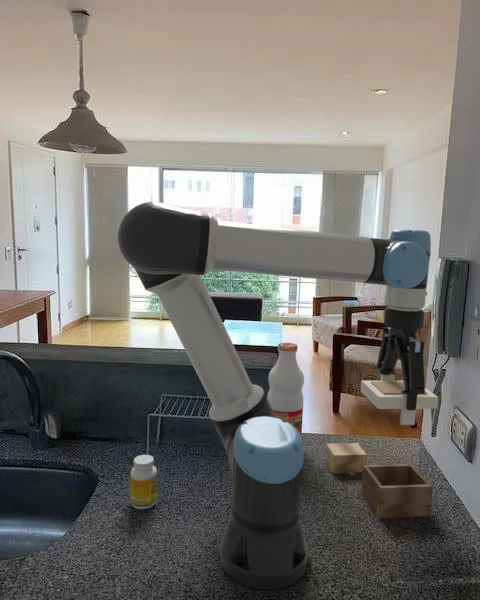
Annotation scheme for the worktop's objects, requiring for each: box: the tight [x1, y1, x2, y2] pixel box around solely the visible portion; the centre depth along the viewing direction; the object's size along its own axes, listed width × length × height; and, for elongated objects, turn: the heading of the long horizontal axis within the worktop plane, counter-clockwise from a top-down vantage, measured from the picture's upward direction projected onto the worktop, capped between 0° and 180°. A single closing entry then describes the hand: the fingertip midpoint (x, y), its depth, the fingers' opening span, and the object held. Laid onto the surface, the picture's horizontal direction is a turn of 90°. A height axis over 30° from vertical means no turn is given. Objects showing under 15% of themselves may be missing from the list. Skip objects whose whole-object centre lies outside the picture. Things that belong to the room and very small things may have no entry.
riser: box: [324, 442, 368, 474], centre depth 112 cm, size 8×6×5 cm
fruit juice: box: [266, 342, 305, 437], centre depth 119 cm, size 9×9×28 cm
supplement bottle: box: [129, 454, 158, 510], centre depth 95 cm, size 5×5×10 cm
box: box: [360, 463, 434, 519], centre depth 97 cm, size 11×9×7 cm
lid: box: [359, 379, 439, 410], centre depth 95 cm, size 12×10×3 cm
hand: (395, 413), depth 96 cm, fingers closed on lid, 10 cm apart
